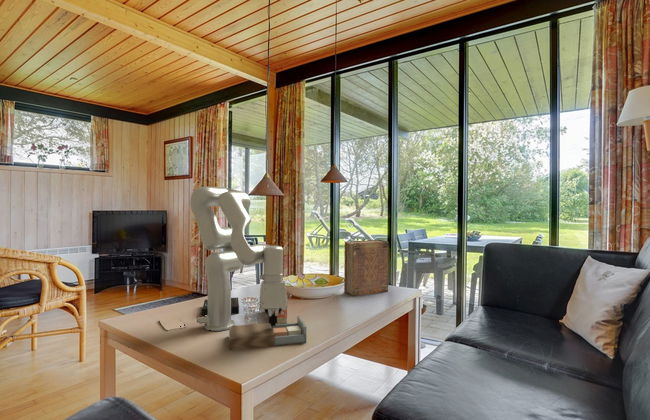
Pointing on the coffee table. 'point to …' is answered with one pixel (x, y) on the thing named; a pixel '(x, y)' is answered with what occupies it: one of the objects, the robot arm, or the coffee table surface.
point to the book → (366, 267)
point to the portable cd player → (233, 307)
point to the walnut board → (250, 336)
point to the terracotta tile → (279, 332)
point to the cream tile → (293, 330)
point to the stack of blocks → (281, 316)
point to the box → (291, 338)
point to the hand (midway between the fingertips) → (272, 325)
